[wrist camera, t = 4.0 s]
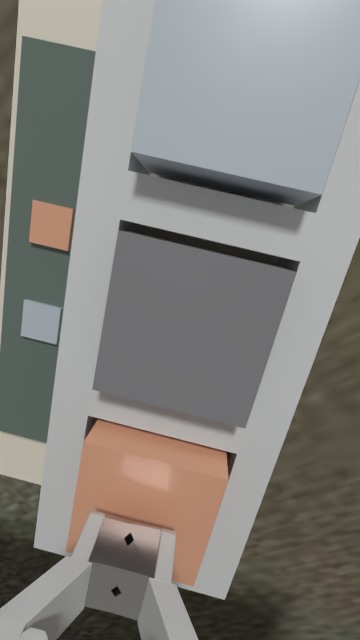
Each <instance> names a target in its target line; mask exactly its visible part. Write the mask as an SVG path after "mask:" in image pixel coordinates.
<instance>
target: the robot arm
mask: <svg viewBox="0 0 360 640" xmlns="http://www.w3.org/2000/svg"><path fill="white" fill-rule="evenodd" d="M176 535H177V534H176V531H172V530H168V529H164V528H162V529H161V527H158V526H154V525H149V524H145V523H141V522H137V521H131V520H127V519H124V518H121V517H117V516H114V515H110V514H106V513H103V512H99V511H95V510H92V511H91V512H90V514H89V516H88V518H87V521H86V523H85V525H84V528H83V530H82V532H81V535H80V537H79V539H78V542H77V544H76V546H75V548H74V551H73V553H72V555H71V557H69V556H66V557H64V558H63V559H62V560H61V561H59V562H58V563H57V564H56V565H54V566H53V567H52V568H51V569H49V570H48V571H47V572H46V573H44V574H43V575H42V576H40V577H39V578H38V579H37V580H35V581H34V582H33V583H32V584H30V585H29V586H28V587H27V588H25V589H24V590H23V591H22V592H20V593H19V594H18V595H17V596H15V597H14V598H13V599H12V600H10V601H9V602H8V603H7V604H5V605H4V606H3V607H2V608H0V640H56V639H57V638H58V637H59V636H60V635H61V634H62V633H63V632H64V630H65V629H66V628H67V627H68V626H69V625H70V624H71V623H72V621H73V620H74V619H75V618H76V617H77V616H78V615H79V614H80V613H81V611H82V610H83V609H84V606H85V607H89V608H93V609H98V610H102V611H106V612H111V613H114V614H117V615H121V616H124V617H127V618H131V619H134V620H137V621H138V622H137V623H138V628H139V632H140V636H141V640H198V637H197V635H196V633H195V630H194V628H193V625H192V623H191V620H190V618H189V615H188V613H187V610H186V608H185V605H184V603H183V601H182V598H181V596H180V593H179V591H178V588H177V586H176V584H172V575H173V565H174V555H175V545H176Z"/></svg>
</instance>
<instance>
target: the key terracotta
mask: <svg viewBox="0 0 360 640" xmlns="http://www.w3.org/2000/svg"><path fill="white" fill-rule="evenodd" d="M228 480H229V478H228V466H227V454H226V451H223V450H220V449H216V448H212V447H208V446H204V445H200V444H196V443H192V442H189V441H185V440H181V439H177V438H173V437H169V436H165V435H161V434H157V433H154V432H150V431H146V430H142V429H138V428H134V427H130V426H126V425H123V424H119V423H115V422H111V421H107V420H103V419H99V418H98V420H97V421H96V423H95V425H94V426H93V428H92V429H91V431H90V433H89V434H88V436H87V437H86V439H85V440H84V443H83V449H82V455H81V461H80V467H79V473H78V479H77V486H76V492H75V498H74V504H73V510H72V516H71V522H70V528H69V534H68V541H67V547H66V552H69V553H73V551H74V548H75V546H76V544H77V542H78V539H79V537H80V535H81V532H82V530H83V528H84V525H85V523H86V521H87V518H88V516H89V514H90V512H91V511H92V510H95V511H99V512H103V513H106V514H110V515H114V516H117V517H121V518H124V519H127V520H131V521H137V522H141V523H145V524H149V525H154V526H158V527H161V529H162V528H164V529H168V530H172V531H176V534H177V535H176V545H175V555H174V565H173V575H172V581H175V582H179V583H182V584H186V585H190V586H193V587H194V584H195V581H196V578H197V575H198V572H199V569H200V566H201V562H202V559H203V556H204V553H205V550H206V547H207V544H208V541H209V538H210V535H211V532H212V529H213V526H214V523H215V520H216V517H217V514H218V511H219V507H220V504H221V501H222V498H223V495H224V492H225V489H226V486H227V483H228Z"/></svg>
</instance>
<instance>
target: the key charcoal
mask: <svg viewBox="0 0 360 640" xmlns="http://www.w3.org/2000/svg"><path fill="white" fill-rule="evenodd" d="M295 275H296V272H294V271H291V270H288V269H285V268H282V267H279V266H276V265H272V264H268V263H263V262H259V261H255V260H251V259H246V258H242V257H238V256H234V255H229V254H225V253H221V252H217V251H212V250H208V249H204V248H200V247H195V246H191V245H187V244H183V243H178V242H174V241H170V240H165V239H161V238H157V237H153V236H148V235H144V234H140V233H134V232H127V231H120V230H118V235H117V241H116V247H115V253H114V259H113V265H112V272H111V278H110V284H109V290H108V296H107V302H106V308H105V314H104V320H103V327H102V333H101V339H100V345H99V351H98V357H97V363H96V369H95V376H94V382H93V388H92V390H96V391H100V392H104V393H108V394H112V395H115V396H119V397H123V398H127V399H131V400H135V401H139V402H143V403H147V404H151V405H155V406H159V407H163V408H167V409H170V410H174V411H178V412H182V413H186V414H190V415H194V416H198V417H202V418H206V419H210V420H214V421H218V422H221V423H225V424H229V425H233V426H237V427H241V428H246V425H247V422H248V419H249V416H250V413H251V410H252V407H253V404H254V401H255V397H256V394H257V391H258V388H259V385H260V382H261V379H262V376H263V373H264V370H265V367H266V364H267V361H268V358H269V355H270V352H271V349H272V346H273V342H274V339H275V336H276V333H277V330H278V327H279V324H280V321H281V318H282V315H283V312H284V309H285V306H286V303H287V300H288V297H289V294H290V291H291V288H292V284H293V281H294V278H295Z"/></svg>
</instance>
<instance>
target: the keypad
mask: <svg viewBox="0 0 360 640" xmlns="http://www.w3.org/2000/svg"><path fill="white" fill-rule="evenodd" d="M155 3H156V0H19V10H18V25H17V40H16V55H15V71H14V86H13V101H12V116H11V131H10V146H9V161H8V177H7V192H6V207H5V222H4V237H3V252H2V267H1V283H0V474H2V475H5V476H9V477H13V478H17V479H20V480H24V481H28V482H32V483H35V484H39V485H41V493H40V501H39V509H38V517H37V525H36V533H35V541H34V548H38V549H42V550H45V551H49V552H53V553H56V554H60V555H63V556H69V557H71V555H72V553H69V552H66V547H67V541H68V534H69V528H70V522H71V516H72V510H73V504H74V498H75V492H76V486H77V479H78V473H79V467H80V461H81V455H82V449H83V443H84V440H85V439H86V437H87V436H88V434H89V433H90V431H91V429H92V428H93V426H94V425H95V423H96V421H97V420H98V418H99V419H103V420H107V421H111V422H115V423H119V424H123V425H126V426H130V427H134V428H138V429H142V430H146V431H150V432H154V433H157V434H161V435H165V436H169V437H173V438H177V439H181V440H185V441H189V442H192V443H196V444H200V445H204V446H208V447H212V448H216V449H220V450H223V451H226V454H227V466H228V478H229V480H228V483H227V486H226V489H225V492H224V495H223V498H222V501H221V504H220V507H219V511H218V514H217V517H216V520H215V523H214V526H213V529H212V532H211V535H210V538H209V541H208V544H207V547H206V550H205V553H204V556H203V559H202V562H201V566H200V569H199V572H198V575H197V578H196V581H195V584H194V587H193V586H190V585H186V584H182V583H179V582H175V581H172V584H176V586H177V587H180V588H183V589H187V590H191V591H194V592H198V593H202V594H205V595H209V596H212V597H216V598H220V599H223V600H225V598H226V595H227V593H228V590H229V587H230V585H231V582H232V579H233V577H234V574H235V571H236V569H237V566H238V563H239V560H240V558H241V555H242V552H243V550H244V547H245V544H246V542H247V539H248V536H249V534H250V531H251V528H252V525H253V523H254V520H255V517H256V515H257V512H258V509H259V507H260V504H261V501H262V499H263V496H264V493H265V490H266V488H267V485H268V482H269V480H270V477H271V474H272V472H273V469H274V466H275V464H276V461H277V458H278V455H279V453H280V450H281V447H282V445H283V442H284V439H285V437H286V434H287V431H288V429H289V426H290V423H291V421H292V418H293V415H294V412H295V410H296V407H297V404H298V402H299V399H300V396H301V394H302V391H303V388H304V386H305V383H306V380H307V377H308V375H309V372H310V369H311V367H312V364H313V361H314V359H315V356H316V353H317V351H318V348H319V345H320V342H321V340H322V337H323V334H324V332H325V329H326V326H327V324H328V321H329V318H330V316H331V313H332V310H333V307H334V305H335V302H336V299H337V297H338V294H339V291H340V289H341V286H342V283H343V281H344V278H345V275H346V273H347V270H348V267H349V264H350V262H351V259H352V256H353V254H354V251H355V248H356V246H357V243H358V240H359V238H360V80H359V83H358V86H357V89H356V92H355V95H354V98H353V101H352V104H351V107H350V110H349V113H348V116H347V119H346V123H345V126H344V129H343V132H342V135H341V138H340V141H339V144H338V147H337V150H336V153H335V156H334V159H333V162H332V165H331V168H330V171H329V174H328V178H327V181H326V184H325V187H324V190H323V193H322V195H320V196H318V197H315V198H313V199H311V200H308V201H306V202H304V203H301V204H299V205H297V206H294V205H289V204H285V203H281V202H276V201H272V200H268V199H263V198H259V197H254V196H250V195H246V194H241V193H237V192H232V191H228V190H224V189H219V188H215V187H210V186H206V185H202V184H197V183H193V182H188V181H184V180H180V179H175V178H171V177H166V176H162V175H158V174H153V173H149V172H148V171H147V170H146V168H145V167H144V166H143V165H142V164H141V163H140V161H139V160H138V159H137V158H136V157H135V156H134V154H133V153H132V152H131V149H132V143H133V137H134V131H135V125H136V119H137V113H138V106H139V100H140V94H141V88H142V82H143V76H144V70H145V64H146V58H147V51H148V45H149V39H150V33H151V27H152V21H153V15H154V9H155ZM118 230H120V231H127V232H134V233H140V234H144V235H148V236H153V237H157V238H161V239H165V240H170V241H174V242H178V243H183V244H187V245H191V246H195V247H200V248H204V249H208V250H212V251H217V252H221V253H225V254H229V255H234V256H238V257H242V258H246V259H251V260H255V261H259V262H263V263H268V264H272V265H276V266H279V267H282V268H285V269H288V270H291V271H294V272H296V275H295V278H294V281H293V284H292V288H291V291H290V294H289V297H288V300H287V303H286V306H285V309H284V312H283V315H282V318H281V321H280V324H279V327H278V330H277V333H276V336H275V339H274V342H273V346H272V349H271V352H270V355H269V358H268V361H267V364H266V367H265V370H264V373H263V376H262V379H261V382H260V385H259V388H258V391H257V394H256V397H255V401H254V404H253V407H252V410H251V413H250V416H249V419H248V422H247V425H246V428H241V427H237V426H233V425H229V424H225V423H221V422H218V421H214V420H210V419H206V418H202V417H198V416H194V415H190V414H186V413H182V412H178V411H174V410H170V409H167V408H163V407H159V406H155V405H151V404H147V403H143V402H139V401H135V400H131V399H127V398H123V397H119V396H115V395H112V394H108V393H104V392H100V391H96V390H92V388H93V382H94V376H95V369H96V363H97V357H98V351H99V345H100V339H101V333H102V327H103V320H104V314H105V308H106V302H107V296H108V290H109V284H110V278H111V272H112V265H113V259H114V253H115V247H116V241H117V235H118Z"/></svg>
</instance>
